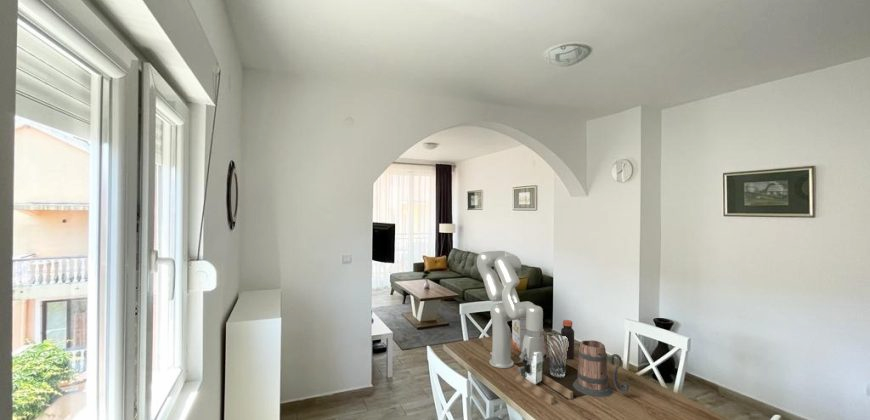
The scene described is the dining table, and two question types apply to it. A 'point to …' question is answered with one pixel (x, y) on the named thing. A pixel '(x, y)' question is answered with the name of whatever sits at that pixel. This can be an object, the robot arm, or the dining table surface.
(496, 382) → the dining table surface
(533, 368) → the syrup box
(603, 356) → the tankard
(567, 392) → the channel
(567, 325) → the bottle
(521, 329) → the cracker box
